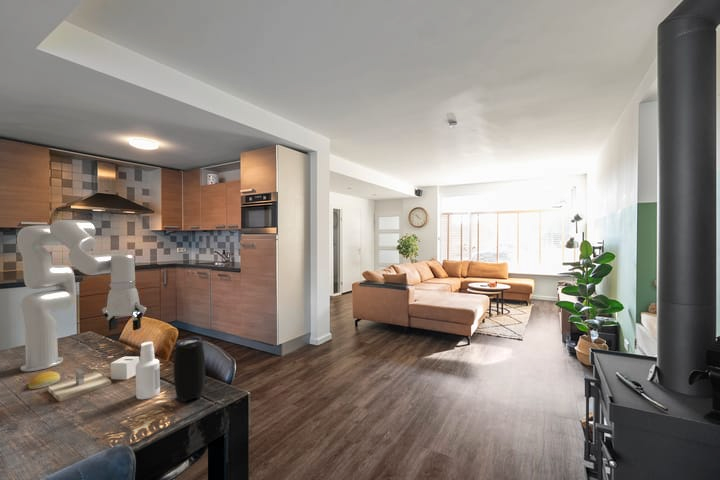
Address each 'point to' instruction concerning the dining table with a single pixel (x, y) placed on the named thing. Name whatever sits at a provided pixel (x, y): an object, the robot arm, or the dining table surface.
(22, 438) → the dining table surface
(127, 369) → the white slotted cube
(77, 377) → the beige square plate
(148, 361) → the white plastic bottle
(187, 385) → the portable speaker
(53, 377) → the bread roll
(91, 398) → the dining table surface
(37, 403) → the dining table surface
